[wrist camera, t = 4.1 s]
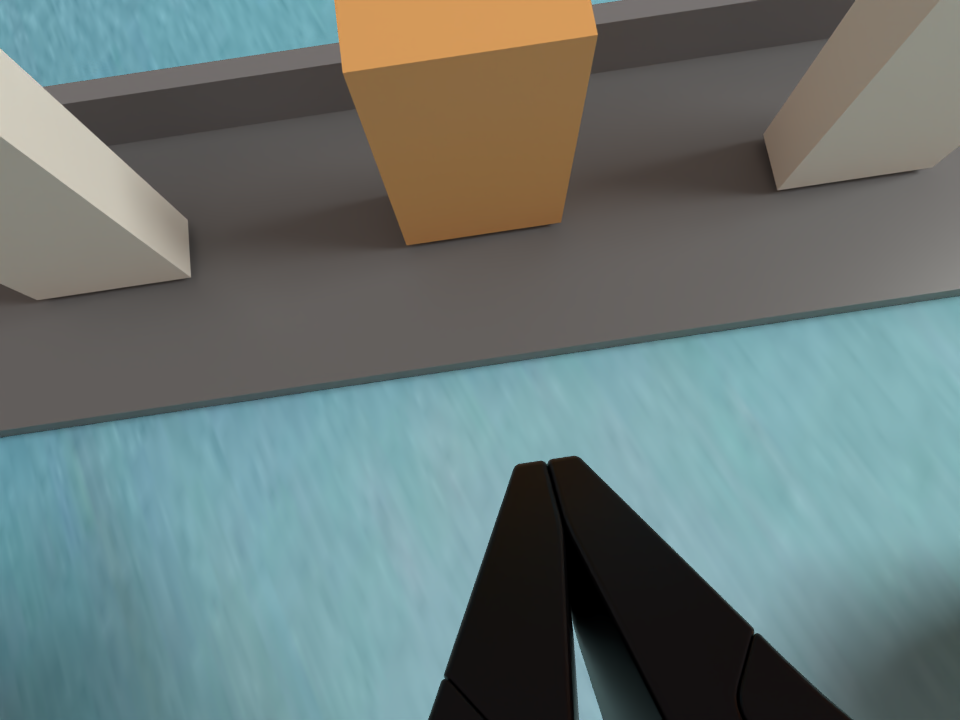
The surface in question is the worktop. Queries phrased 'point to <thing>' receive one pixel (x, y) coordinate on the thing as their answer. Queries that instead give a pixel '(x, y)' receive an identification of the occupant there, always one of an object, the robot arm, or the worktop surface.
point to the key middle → (469, 107)
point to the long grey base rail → (473, 259)
